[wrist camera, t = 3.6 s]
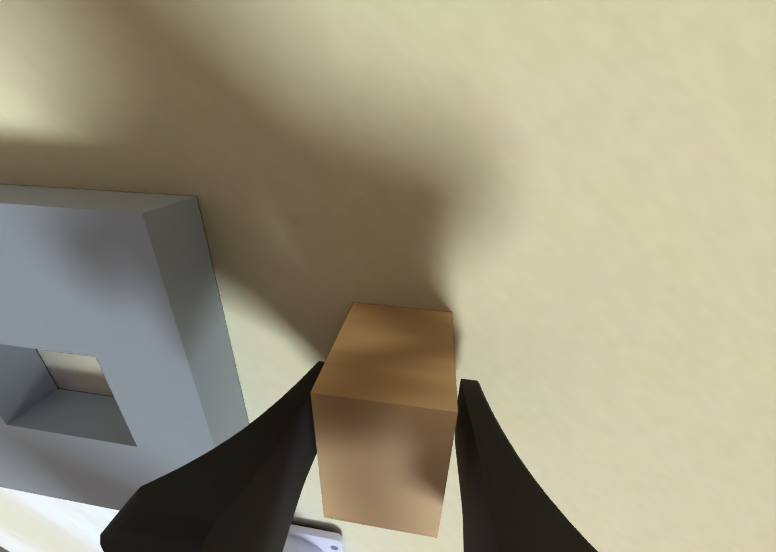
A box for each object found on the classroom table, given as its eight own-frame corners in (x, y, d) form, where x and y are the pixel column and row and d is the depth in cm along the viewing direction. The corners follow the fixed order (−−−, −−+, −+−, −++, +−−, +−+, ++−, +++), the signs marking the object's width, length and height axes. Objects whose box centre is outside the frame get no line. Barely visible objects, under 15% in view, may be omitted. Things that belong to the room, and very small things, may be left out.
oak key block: (452, 311, 13) (458, 412, 8) (438, 417, 16) (437, 538, 11) (353, 301, 13) (310, 392, 9) (356, 406, 16) (324, 517, 12)
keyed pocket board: (263, 488, 20) (241, 534, 18) (42, 449, 22) (-3, 486, 20) (196, 196, 12) (142, 213, 10) (-139, 175, 14) (-247, 185, 12)
